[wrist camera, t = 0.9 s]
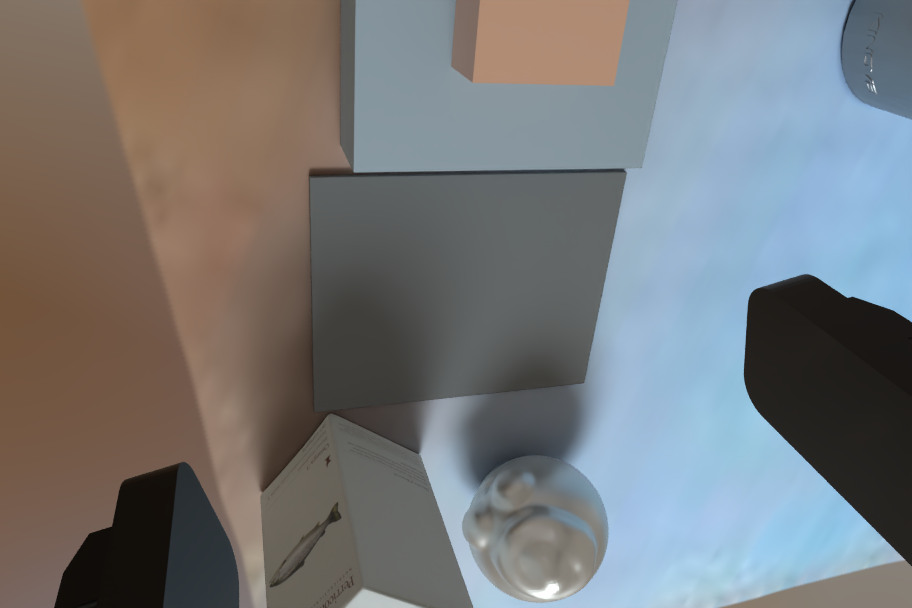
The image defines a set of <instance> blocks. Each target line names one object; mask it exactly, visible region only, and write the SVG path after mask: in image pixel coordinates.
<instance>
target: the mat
mask: <svg viewBox="0 0 912 608" xmlns="http://www.w3.org/2000/svg"><path fill="white" fill-rule="evenodd" d="M626 174H627V172H625V171H570V172H507V173H445V174H382V175H320V176H309V197H310V246H311V295H312V345H313V394H314V412H323V411H332V410H341V409H351V408H360V407H369V406H378V405H387V404H397V403H406V402H415V401H424V400H434V399H443V398H452V397H461V396H470V395H480V394H489V393H498V392H507V391H517V390H526V389H535V388H544V387H553V386H563V385H572V384H581V383H584V380H585V375H586V371H587V366H588V361H589V356H590V351H591V346H592V341H593V336H594V331H595V326H596V321H597V316H598V312H599V307H600V302H601V297H602V292H603V287H604V282H605V277H606V272H607V267H608V262H609V258H610V253H611V248H612V243H613V238H614V233H615V228H616V223H617V218H618V213H619V208H620V203H621V199H622V194H623V189H624V184H625V179H626Z"/></svg>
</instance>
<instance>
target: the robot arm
mask: <svg viewBox="0 0 912 608" xmlns="http://www.w3.org/2000/svg"><path fill="white" fill-rule="evenodd" d="M841 54H842V69H843V73H844V77H845V80H846V83H847V85H848V87H849V88H850V90H851V92H852V93H853V94H854V95H855V96H856V97H857V98H858V99H859V100H860V101H861V102H863V103H865V104H868V105H870V106H872V107H875V108H878V109H881V110H884V111H887V112H890V113H893V114H896V115H899V116H902V117H906V118H909V119H912V0H856V1H855V4H854V6H853V8H852V10H851V12H850V14H849V18H848V21H847V24H846V28H845V31H844V36H843V43H842V51H841ZM744 381H745V385H746V389H747V392H748V395H749V397H750V399H751V401H752V403H753V405H754V406H755V408H756V409H757V411H758V412H759V413H760V414H761V415H762V417H763V418H764V419H765V420H766V421H767V422H768V423H769V424H770V425H771V426H772V427H773V428H774V429H775V430H776V431H777V432H778V433H779V434H780V435H781V436H782V437H783V438H784V439H785V440H786V441H787V442H788V443H789V444H790V445H791V446H792V447H793V448H794V449H795V450H796V451H797V452H798V453H799V454H800V455H801V456H802V457H803V458H804V459H805V460H806V461H807V462H808V463H809V464H810V465H811V466H812V467H813V468H814V469H815V470H816V471H817V472H818V473H819V474H820V475H821V476H822V477H823V478H824V479H825V480H826V481H827V482H828V483H829V484H830V485H831V486H832V487H833V488H834V489H835V490H836V491H837V492H838V493H839V494H840V495H841V496H842V497H843V498H844V499H845V500H846V501H847V502H848V503H849V504H850V505H851V506H852V507H853V508H854V509H855V510H856V511H857V512H858V513H859V514H860V515H861V516H862V517H863V518H864V519H865V520H866V521H867V522H868V523H869V524H870V525H871V526H872V527H873V528H874V529H875V530H876V531H877V532H878V533H879V534H880V535H881V536H882V537H883V538H884V539H885V540H886V541H887V542H888V543H889V544H890V545H891V546H892V547H893V548H894V549H895V550H896V551H897V552H898V553H899V554H900V555H901V556H902V557H903V558H904V559H905V560H906V561H907V562H908V563H909V564H910V565H911V566H912V322H910V321H909V320H907V319H906V318H904V317H903V316H901V315H899V314H898V313H896V312H895V311H893V310H890V309H887V308H884V307H881V306H878V305H875V304H872V303H869V302H867V301H864V300H861V299H858V298H855V297H850V298H847V297H845V296H844V295H842V294H841V293H839V292H838V291H836V290H835V289H833V288H832V287H830V286H829V285H827V284H826V283H824V282H823V281H821V280H820V279H818V278H816V277H814V276H812V275H808V274H804V275H800V276H797V277H793V278H790V279H787V280H783V281H780V282H777V283H774V284H770V285H767V286H764V287H761V288H757V289H755V290H754V291H753V292H752V293H751V295H750V297H749V301H748V312H747V329H746V345H745V362H744ZM54 608H239V579H238V571H237V565H236V560H235V556H234V553H233V549H232V546H231V544H230V541H229V539H228V537H227V535H226V533H225V531H224V529H223V527H222V525H221V523H220V521H219V519H218V517H217V515H216V513H215V512H214V510H213V508H212V506H211V504H210V502H209V500H208V498H207V496H206V494H205V492H204V490H203V488H202V487H201V484H200V482H199V481H198V479H197V477H196V475H195V473H194V471H193V470H192V468H191V467H190V466H189V465H188V464H187V463H186V462H181V463H178V464H175V465H171V466H168V467H165V468H162V469H159V470H155V471H152V472H149V473H146V474H142V475H139V476H135V477H132V478H129V479H126V480H124V482H122V484H121V487H120V490H119V495H118V500H117V505H116V510H115V515H114V519H113V524H112V527H109V528H106V529H102V530H100V531H96V532H93V533H90V534H89V535H88V537H87V538H86V540H85V541H84V543H83V544H82V545H81V547H80V549H79V550H78V551H77V553H76V555H75V556H74V558H73V559H72V561H71V562H70V564H69V565H68V567H67V568H66V570H65V571H64V573H63V576H62V580H61V583H60V587H59V591H58V595H57V599H56V603H55V607H54Z"/></svg>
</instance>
